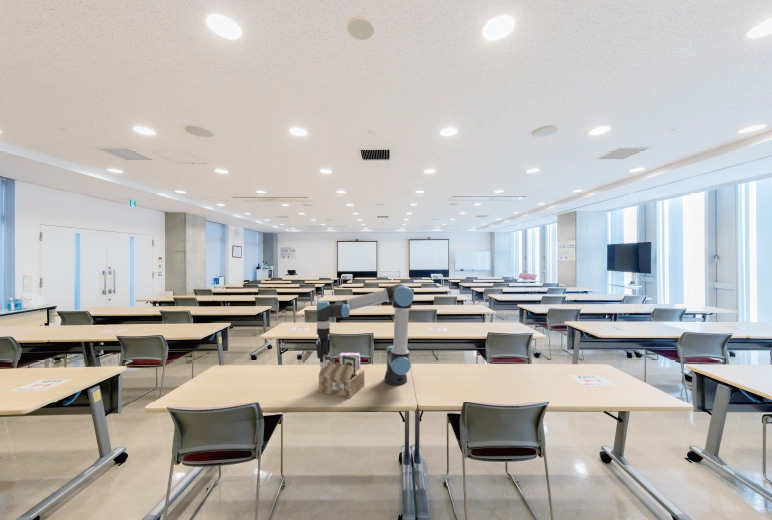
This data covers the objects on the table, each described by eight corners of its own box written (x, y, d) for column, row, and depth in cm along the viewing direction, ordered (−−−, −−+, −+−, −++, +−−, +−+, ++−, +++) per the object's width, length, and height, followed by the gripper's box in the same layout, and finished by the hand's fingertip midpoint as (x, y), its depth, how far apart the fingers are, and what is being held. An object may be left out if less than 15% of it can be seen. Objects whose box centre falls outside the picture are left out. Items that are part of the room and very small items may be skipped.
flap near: (354, 365, 191) (346, 358, 183) (349, 381, 186) (341, 374, 178) (324, 360, 199) (315, 354, 192) (319, 375, 194) (310, 369, 186)
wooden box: (364, 386, 202) (364, 370, 202) (349, 398, 186) (349, 381, 185) (335, 380, 211) (335, 366, 211) (318, 392, 195) (318, 375, 194)
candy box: (360, 376, 219) (360, 352, 219) (359, 379, 213) (358, 355, 213) (341, 375, 220) (340, 352, 220) (339, 378, 215) (338, 354, 214)
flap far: (363, 370, 202) (363, 353, 201) (356, 376, 193) (356, 358, 193) (335, 366, 211) (334, 349, 210) (327, 371, 202) (326, 354, 202)
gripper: (325, 324, 197) (325, 361, 198) (310, 329, 184) (310, 369, 184) (335, 325, 194) (335, 363, 195) (320, 331, 181) (321, 371, 181)
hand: (323, 366), depth 189 cm, fingers closed on flap near, 2 cm apart
